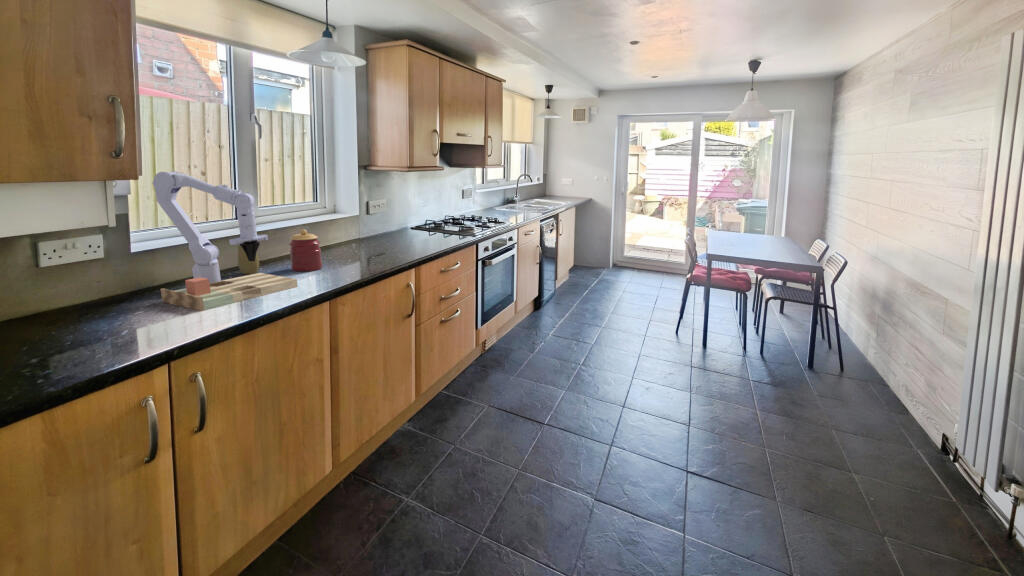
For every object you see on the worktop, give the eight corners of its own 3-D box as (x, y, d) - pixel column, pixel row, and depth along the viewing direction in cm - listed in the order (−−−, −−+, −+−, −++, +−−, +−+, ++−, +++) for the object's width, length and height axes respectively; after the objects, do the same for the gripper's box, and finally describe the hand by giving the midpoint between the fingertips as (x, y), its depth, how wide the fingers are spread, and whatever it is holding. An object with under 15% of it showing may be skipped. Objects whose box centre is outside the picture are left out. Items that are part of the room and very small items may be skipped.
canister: (293, 266, 227) (289, 228, 223) (323, 265, 230) (320, 227, 226) (289, 272, 215) (285, 232, 210) (321, 271, 218) (317, 231, 214)
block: (187, 294, 168) (184, 280, 167) (202, 291, 172) (199, 277, 171) (196, 296, 166) (194, 281, 164) (210, 293, 170) (208, 278, 169)
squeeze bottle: (254, 270, 219) (249, 229, 214) (264, 272, 215) (259, 231, 210) (235, 273, 213) (229, 231, 208) (245, 276, 208) (239, 233, 204)
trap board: (162, 301, 170) (160, 289, 169) (260, 279, 202) (258, 269, 200) (201, 311, 160) (199, 297, 159) (297, 286, 192) (296, 275, 191)
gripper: (236, 228, 180) (240, 265, 184) (271, 224, 193) (275, 258, 196) (224, 227, 184) (228, 263, 187) (259, 223, 196) (263, 257, 199)
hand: (251, 260), depth 192 cm, fingers closed
